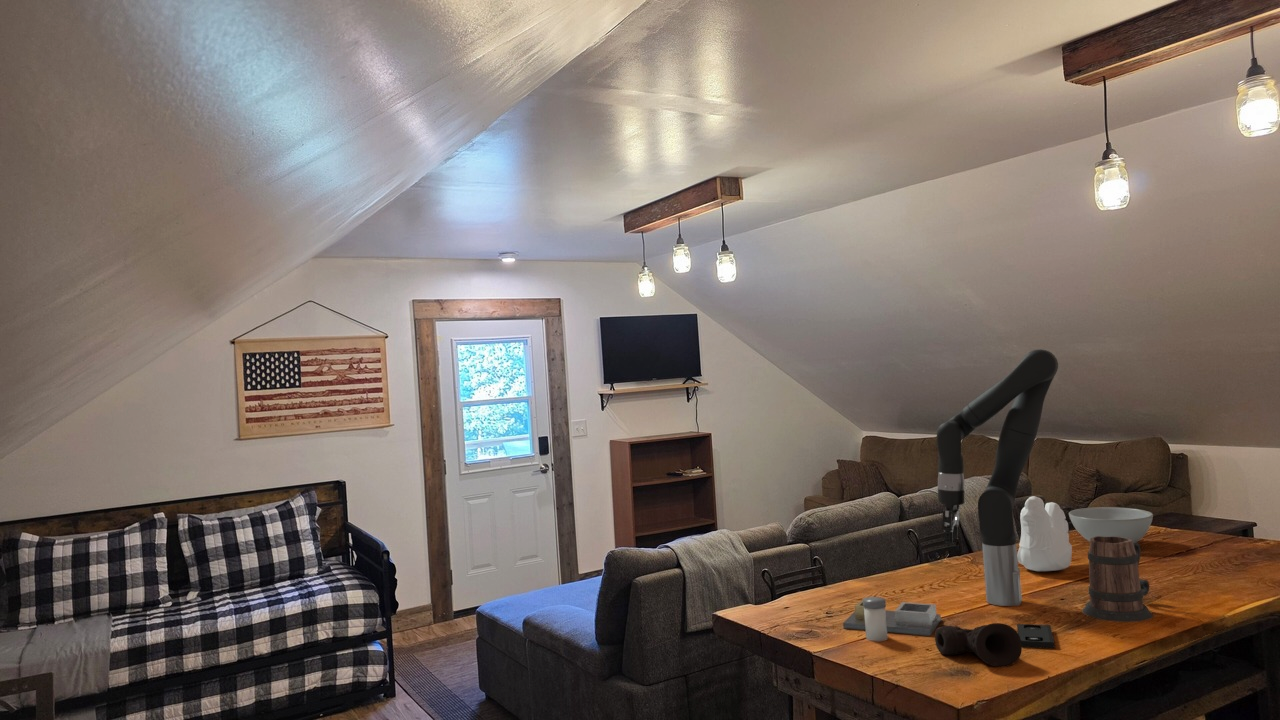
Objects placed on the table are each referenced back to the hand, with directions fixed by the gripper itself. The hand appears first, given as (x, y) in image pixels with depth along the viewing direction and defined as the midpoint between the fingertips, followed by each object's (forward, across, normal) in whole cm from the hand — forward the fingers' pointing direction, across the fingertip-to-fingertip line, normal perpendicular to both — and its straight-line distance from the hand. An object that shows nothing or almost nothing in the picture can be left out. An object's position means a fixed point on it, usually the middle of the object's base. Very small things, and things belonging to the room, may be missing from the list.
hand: (951, 541), depth 252 cm
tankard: (+14, 0, -45) cm, 47 cm away
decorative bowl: (+15, +85, -41) cm, 96 cm away
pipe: (+17, -50, -14) cm, 55 cm away
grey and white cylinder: (+18, -43, +11) cm, 48 cm away
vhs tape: (+16, -32, -26) cm, 44 cm away
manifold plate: (+18, -30, +10) cm, 36 cm away
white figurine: (+16, +45, -24) cm, 54 cm away
